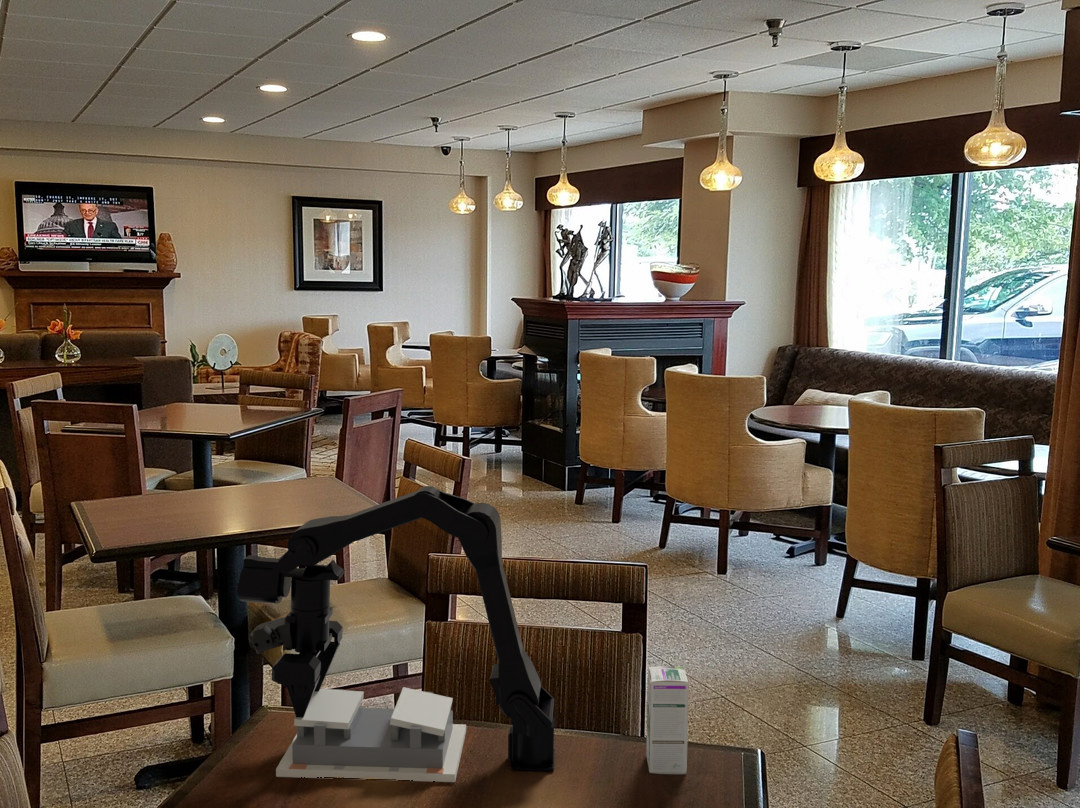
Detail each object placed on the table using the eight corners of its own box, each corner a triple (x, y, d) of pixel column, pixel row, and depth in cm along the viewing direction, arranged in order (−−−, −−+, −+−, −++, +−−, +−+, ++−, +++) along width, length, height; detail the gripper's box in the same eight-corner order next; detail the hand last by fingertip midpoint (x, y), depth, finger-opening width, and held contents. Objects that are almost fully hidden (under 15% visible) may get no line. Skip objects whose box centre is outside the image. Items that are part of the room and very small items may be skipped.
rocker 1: (363, 701, 155) (363, 691, 155) (348, 733, 144) (348, 722, 144) (312, 697, 155) (313, 688, 155) (293, 729, 144) (294, 719, 144)
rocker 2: (450, 707, 155) (453, 698, 155) (442, 740, 144) (444, 730, 144) (401, 696, 155) (403, 687, 155) (388, 728, 144) (391, 718, 144)
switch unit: (466, 731, 158) (466, 688, 157) (455, 782, 142) (455, 734, 141) (305, 726, 159) (304, 684, 158) (276, 776, 143) (275, 729, 142)
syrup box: (687, 775, 145) (691, 681, 144) (647, 774, 146) (650, 680, 144) (682, 756, 151) (686, 666, 149) (644, 755, 151) (647, 665, 149)
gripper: (275, 582, 157) (273, 676, 159) (236, 623, 139) (234, 728, 141) (344, 586, 157) (341, 680, 159) (315, 628, 138) (312, 733, 140)
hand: (307, 704), depth 150 cm, fingers open, 9 cm apart
